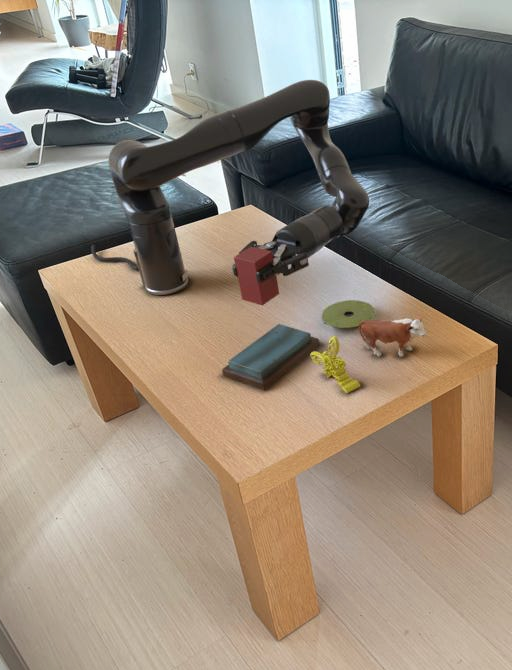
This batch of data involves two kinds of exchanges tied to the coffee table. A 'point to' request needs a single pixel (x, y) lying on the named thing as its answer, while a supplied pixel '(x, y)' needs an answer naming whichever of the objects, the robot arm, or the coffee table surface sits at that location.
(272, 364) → the blue-grey flat block
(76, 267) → the coffee table surface
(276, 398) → the coffee table surface
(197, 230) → the coffee table surface
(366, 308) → the mat
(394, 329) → the bull figurine
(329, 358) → the decorative insect
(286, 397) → the coffee table surface
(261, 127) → the robot arm
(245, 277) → the pillar block
